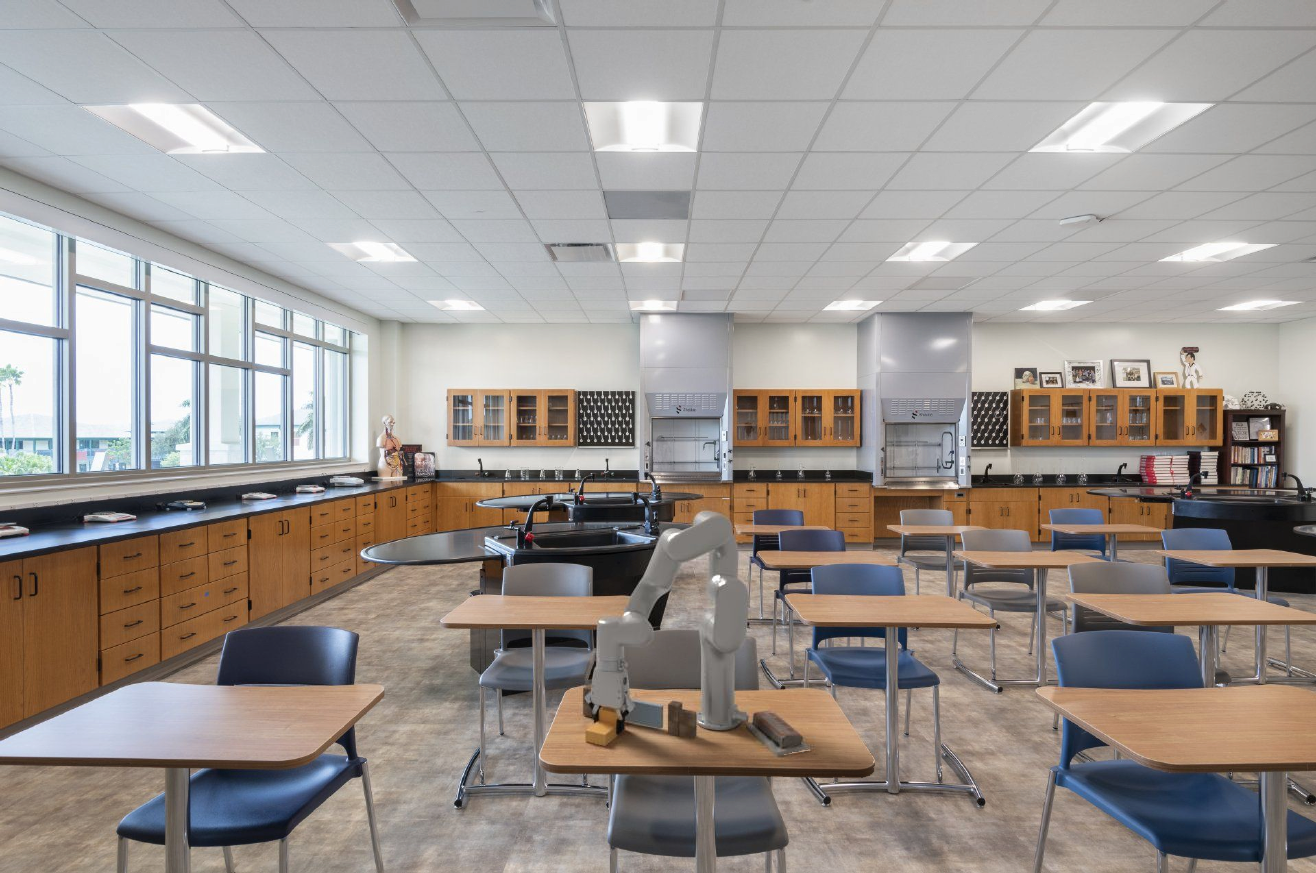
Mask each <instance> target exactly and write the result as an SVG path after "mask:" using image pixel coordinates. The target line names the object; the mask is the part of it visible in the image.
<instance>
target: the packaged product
mask: <svg viewBox="0 0 1316 873" xmlns="http://www.w3.org/2000/svg"><path fill="white" fill-rule="evenodd" d="M746 727H747V729H748V728H749V729H748V730H749V731H750V730H751V731H752V732H751V731H750V732H751V733H752V734H753V733H754V734H753V735H754V736H755V737H756V738H757V740H759V741H760V742H761V743H762V744H763V745H764V746H765V747H766V748H767V749H768V748H769V749H770V750H769V749H768V750H769V751H770V752H772V754H774V755H775V756H776V757H782V756H781V755H784V754H789V753H792V752H799V751H802V750H809V749H811V750H812V748H811V747H810V746H809V745H808V744H807V743H805V742H804V741H803V739H804V737H803V735H802V734H801V733H800V732H798V731H797V730H796V729H795V727H792V726H791V725H790V724H789V723H788V722H787V721H785V719H784V718H782V717H781V716H779V715H778V713H776V712H775V711H772V710H762V711H757V712H754V713H753V715H752V722H747V726H746ZM784 756H785V755H784Z"/></svg>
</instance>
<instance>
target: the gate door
mask: <svg viewBox="0 0 1316 873" xmlns="http://www.w3.org/2000/svg"><path fill="white" fill-rule="evenodd" d="M630 699H631V700H632V701H633V703H634V704H635V706H636V707H635V708H634V709H633V710H632V711H631V712H630V713H629V714H628V715H627V716H626V717H625V722H627V723H631V724H632V723H633V724H637V725H641V726H647V727H651V728H656V729H663V728H664V705H662V704H659V703H653V702H647V701H642V700H638V699H633V698H630ZM602 707H603V706H602ZM624 707H625V710H626V709H627V708H628V705H627V704H624Z"/></svg>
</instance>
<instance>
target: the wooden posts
mask: <svg viewBox="0 0 1316 873" xmlns="http://www.w3.org/2000/svg"><path fill="white" fill-rule="evenodd" d="M591 687H592V684H587V685H586V686H584V687H583V689H582V716H583V715H585V716H584V717H587V716H588V717H587V718H591V717H592V718H594V714H593V713H592V709H591V708H590V706H589V704H588V703H587V701H586V700H585V696H586V695H587V694H588V693H589V692H590V691H591ZM697 713H698V712H697V711H694V710H690V709H683V701H676V700H671V701H670V702H669V703H668V704H667V735H671V736H675V737H679V736H682V737H685V738H690V739H696V737H698V736H697V733H698V732H697V726H698V724H697Z"/></svg>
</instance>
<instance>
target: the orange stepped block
mask: <svg viewBox="0 0 1316 873" xmlns="http://www.w3.org/2000/svg"><path fill="white" fill-rule="evenodd" d="M617 719H618V716H617V712H616V709H614V708H609V707H604V706H603V707H601V708H600V709H599V721H597V722H596V723H595V724H594V723H593V724H592V725H590V726H589V727H588V728H587V729H585V738H584V740H585V741H588V742H591V743H590V744H593V743H596V744H595V745H597V744H599V746H601V745H602V747H606V746H607V745H609V744H610V743H611V742H612V741H613V740H615V739H616V738H617V737H618V736H619V735H618V734H616V720H617ZM625 730H626V728H625V729H624V731H625ZM620 734H622V732H621V733H620ZM588 742H587V743H588ZM608 743H609V744H608Z"/></svg>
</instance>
